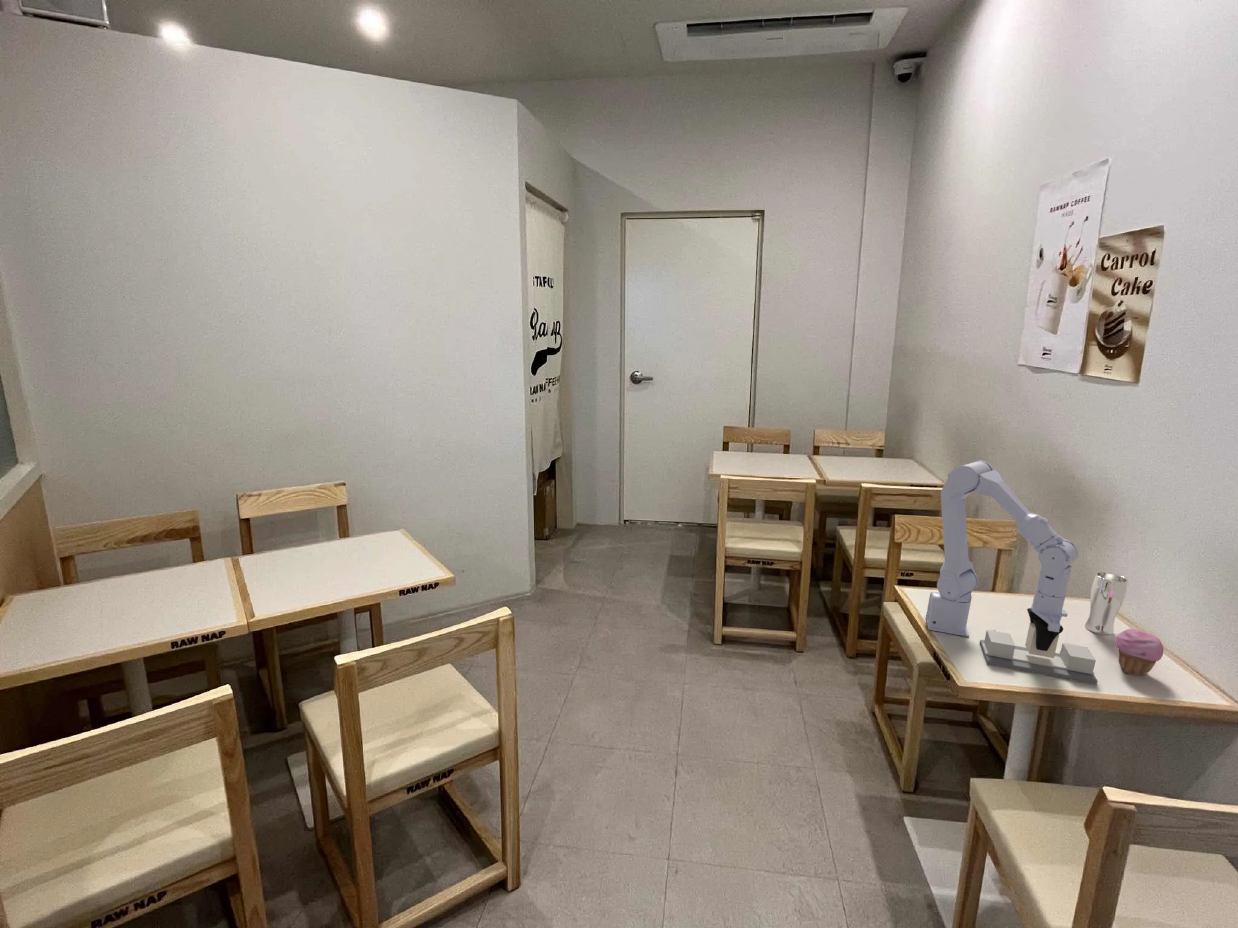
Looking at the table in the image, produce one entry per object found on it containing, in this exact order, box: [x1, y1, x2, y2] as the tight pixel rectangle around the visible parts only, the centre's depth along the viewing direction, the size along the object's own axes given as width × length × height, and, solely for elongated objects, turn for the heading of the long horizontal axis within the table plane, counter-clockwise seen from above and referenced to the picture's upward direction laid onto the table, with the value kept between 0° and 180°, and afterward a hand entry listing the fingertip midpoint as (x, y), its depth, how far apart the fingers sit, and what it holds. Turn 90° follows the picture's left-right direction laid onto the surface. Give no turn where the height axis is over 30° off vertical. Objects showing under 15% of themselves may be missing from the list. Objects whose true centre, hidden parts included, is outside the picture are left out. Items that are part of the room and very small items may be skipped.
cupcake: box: [1114, 628, 1164, 676], centre depth 150 cm, size 9×9×10 cm
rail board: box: [979, 629, 1099, 686], centre depth 153 cm, size 22×10×5 cm, turn 70°
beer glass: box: [1084, 571, 1129, 636], centre depth 168 cm, size 7×7×15 cm
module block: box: [1025, 623, 1060, 658], centre depth 152 cm, size 5×4×6 cm
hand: (1039, 644), depth 152 cm, fingers closed on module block, 4 cm apart
